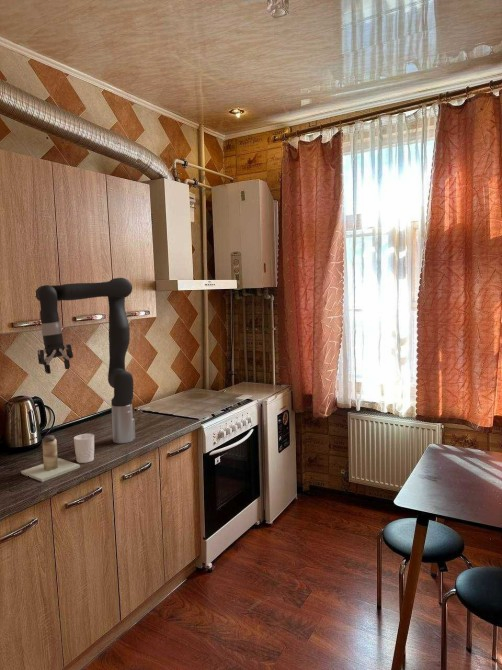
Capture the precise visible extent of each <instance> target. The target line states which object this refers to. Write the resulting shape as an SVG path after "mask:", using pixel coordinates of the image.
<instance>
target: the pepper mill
mask: <svg viewBox="0 0 502 670" xmlns="http://www.w3.org/2000/svg"><path fill="white" fill-rule="evenodd" d="M42 458H43V459H42V460H43V464H44V470H54V469H56V468H58V443H57V439H56V438H55V435H53V434H52V435H50V434H49V435H46V436H44V438H43V440H42Z"/></svg>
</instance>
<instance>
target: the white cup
mask: <svg viewBox="0 0 502 670" xmlns="http://www.w3.org/2000/svg"><path fill="white" fill-rule="evenodd" d="M73 442H74V443H73V445H74V453H75V457H76V462H77V464H85V463H90V462H93V461H94V460H95V457H94V456H95V434H93V433H83V434H79V435H78V434H77V435H76V436H74V437H73Z"/></svg>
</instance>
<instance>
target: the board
mask: <svg viewBox="0 0 502 670" xmlns="http://www.w3.org/2000/svg"><path fill="white" fill-rule="evenodd" d="M57 459H58V468H56V469H54V470H44V463H41V464H39V465H36V466H33V467H30V468H26V469H24V470H21V471H20V473H21V475H23V476H26V477H28V476H29V478H31V479H34V480H37V481H39V482H42V483H43V482H45V481H48V480H52V479H54V478H56V477H59V476H61V475H64V474H67V473H69V472H72V471H75V470H77V469H79V468H81V464H80V463H75V462H72V461H69V460H66V459H63V458H60V457H57Z"/></svg>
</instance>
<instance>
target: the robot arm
mask: <svg viewBox="0 0 502 670" xmlns="http://www.w3.org/2000/svg"><path fill="white" fill-rule="evenodd" d="M37 288H38V289H37ZM37 288H36V289H35V292H36V296H35V298H36V300H37V301H39V306H40V311H39V318H40V323H41V324H40V325H41V334H42V335H41V336H42V340H43V345H44V349H37V359H38V364H39V365H43V367H44V372H45V373H46V374H48V375H50V374H51V373H52V372H51V371H52V370H51V366H50V362H51V361H52V360H53V359H54V358H57V357H59V358H60V357H61V358H62V359H63V363H64V369H65V370H70V367H71V363H70V359H72V358H74V354H73V350H72V345H71V344H70V343H67V344H66V343H65V344H64V337H63V331H62V325H61V323H60V322H61V321H60V315H59V312H58V307H59V306H58V305H59V304H58V302H61V301H76V300H78V301H80V300H85V299H92V298H100V297H101V298H102V297H104V298H105V297H107V299H108V300H107V301H108V310H109V311H108V346H109V347H108V350H109V354H108V355H109V363H108V372H107V383H109V386H110V388H113V397H112V398H111V401H110V402H111V421H112V424H111V425H112V426H111V427H112V443H115V444H127V443H131V442H133V441H134V440H135V439H136V424H135V418H133V417H134V416H133V415H134V414H133V412H134V411H133V399H134V378H133V374H131V373H130V372H129V371H128V370H126V363H125V362H126V355H127V352H128V349H129V345H130V341H131V340H130V339H131V337H130V336H131V335H130V331H131V329H130V324H129V319H128V317H127V314H126V305H125V304H126V301H125V300H126V298H128V297H129V296H130V295H131V293H132V292H133V284H132V282H131V281H130V280H128V279H127V278H125V277H116V278H115V277H114V278H112V279H110V280H108V281H103V282H78V283H76V282H75V283H64V284H60V285H59V284H58V285H56V284H55V285H49V284H46V285H41V286H38V287H37ZM64 350H65V351H66V352H65V351H64ZM45 354H46V355H45Z"/></svg>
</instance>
